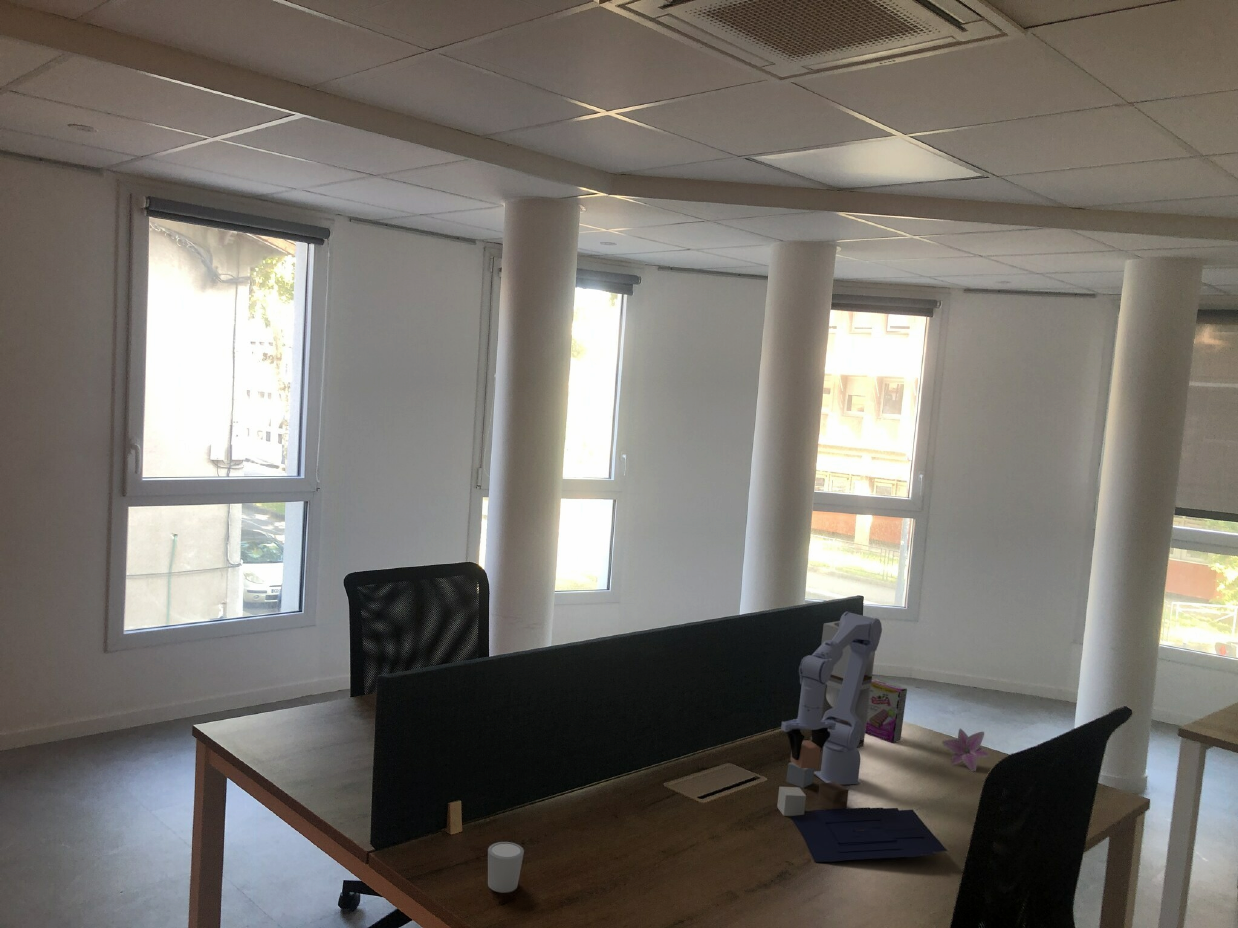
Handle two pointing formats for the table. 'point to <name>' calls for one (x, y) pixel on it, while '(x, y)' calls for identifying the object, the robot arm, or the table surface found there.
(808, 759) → the terracotta cube
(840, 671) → the grey elongated piece
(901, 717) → the candy bar box
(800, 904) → the table surface
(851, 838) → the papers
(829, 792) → the walnut cube
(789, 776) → the slate cube
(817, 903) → the table surface
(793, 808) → the offwhite cube
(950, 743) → the lily
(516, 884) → the grey cylinder
